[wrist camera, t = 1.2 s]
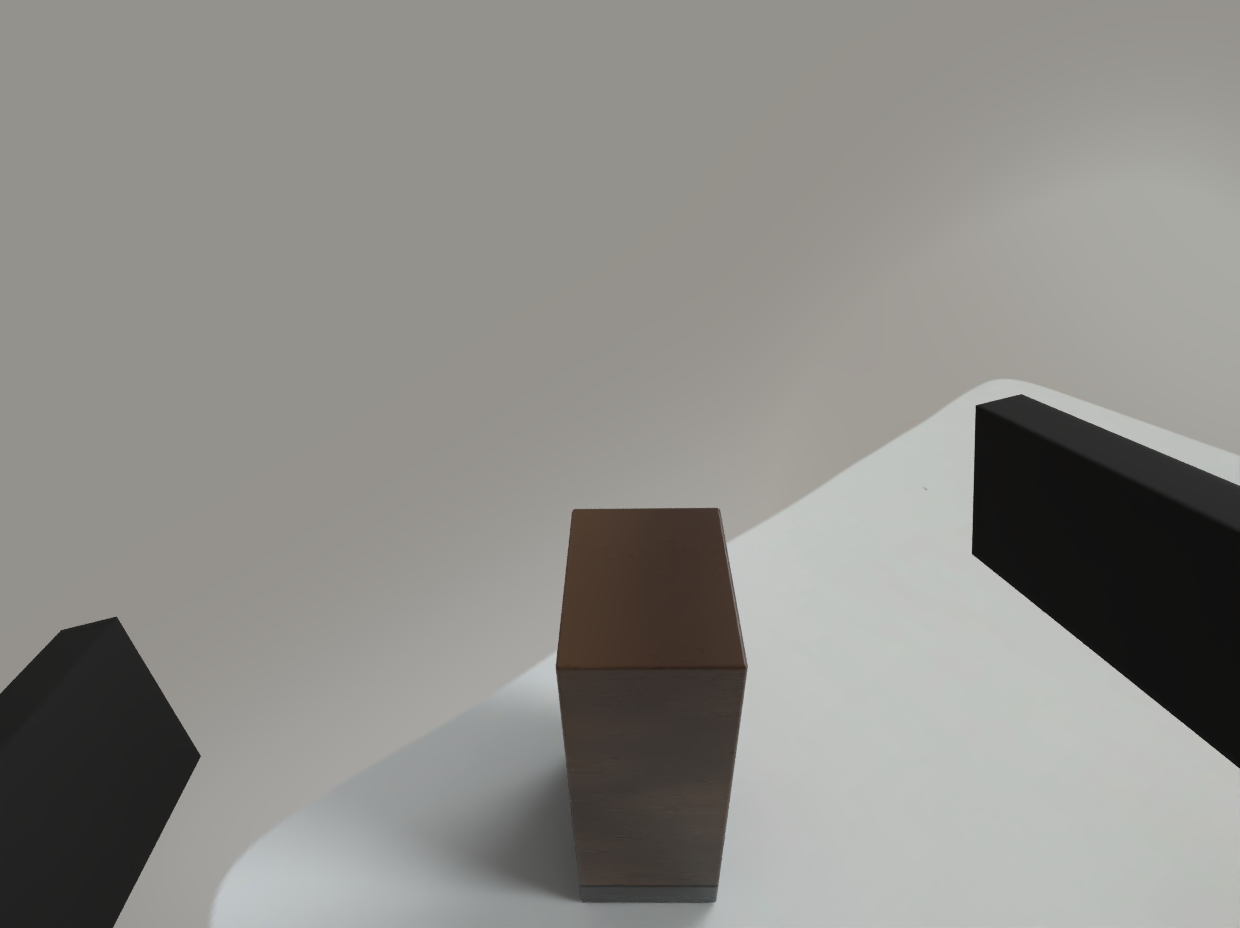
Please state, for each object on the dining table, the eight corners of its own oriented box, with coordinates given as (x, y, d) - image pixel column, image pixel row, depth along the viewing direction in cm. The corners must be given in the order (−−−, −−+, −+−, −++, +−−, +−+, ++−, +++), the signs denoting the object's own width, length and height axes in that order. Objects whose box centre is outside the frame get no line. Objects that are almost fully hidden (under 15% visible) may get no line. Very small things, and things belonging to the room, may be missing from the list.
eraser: (580, 903, 23) (554, 668, 16) (589, 740, 28) (572, 507, 21) (716, 903, 23) (748, 667, 16) (700, 740, 28) (720, 506, 21)
